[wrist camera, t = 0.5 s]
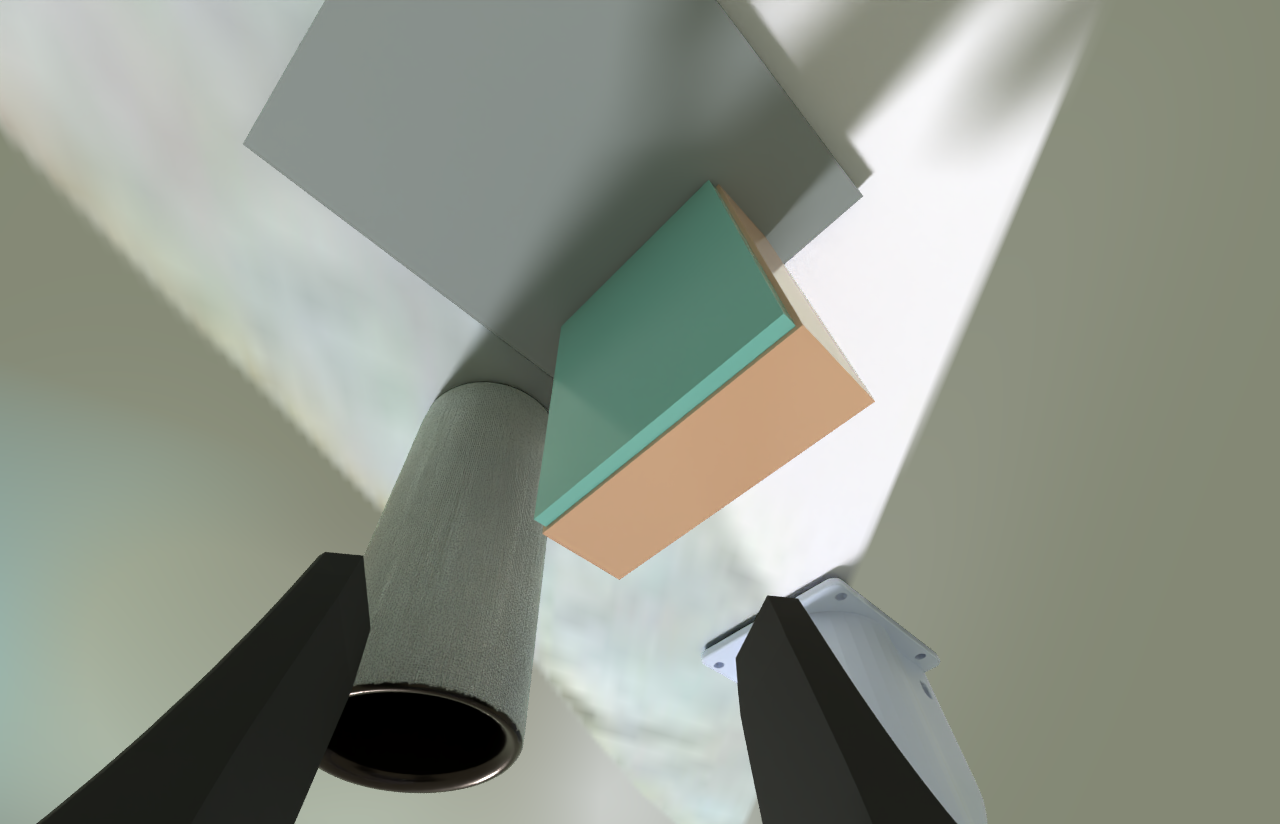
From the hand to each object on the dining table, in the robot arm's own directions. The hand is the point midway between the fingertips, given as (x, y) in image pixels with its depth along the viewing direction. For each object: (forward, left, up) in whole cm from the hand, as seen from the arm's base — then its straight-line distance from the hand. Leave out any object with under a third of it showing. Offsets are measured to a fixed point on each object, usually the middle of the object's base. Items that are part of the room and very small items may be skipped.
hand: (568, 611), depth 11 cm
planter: (0, +5, -10) cm, 11 cm away
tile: (0, -3, -9) cm, 10 cm away
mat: (+4, -4, -10) cm, 11 cm away
